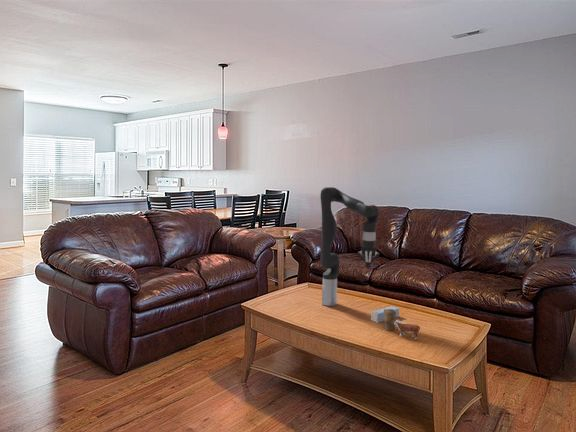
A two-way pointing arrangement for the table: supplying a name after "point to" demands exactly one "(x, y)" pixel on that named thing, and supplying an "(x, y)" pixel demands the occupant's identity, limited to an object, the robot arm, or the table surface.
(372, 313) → the bluegrey block
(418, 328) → the bull figurine
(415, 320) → the table surface
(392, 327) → the walnut block
